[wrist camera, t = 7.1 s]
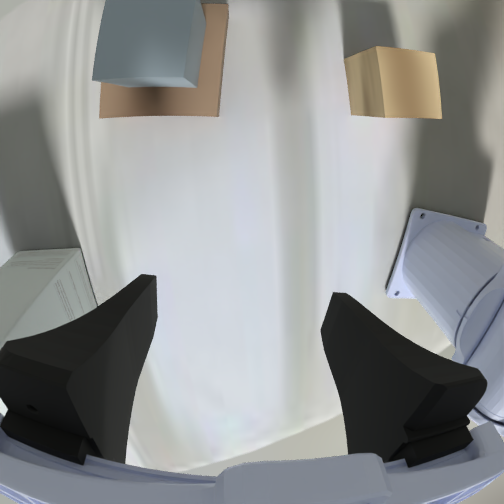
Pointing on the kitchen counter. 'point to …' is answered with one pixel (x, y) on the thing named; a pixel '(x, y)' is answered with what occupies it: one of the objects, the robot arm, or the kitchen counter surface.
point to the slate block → (150, 43)
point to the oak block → (393, 83)
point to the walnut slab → (177, 98)
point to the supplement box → (42, 293)
